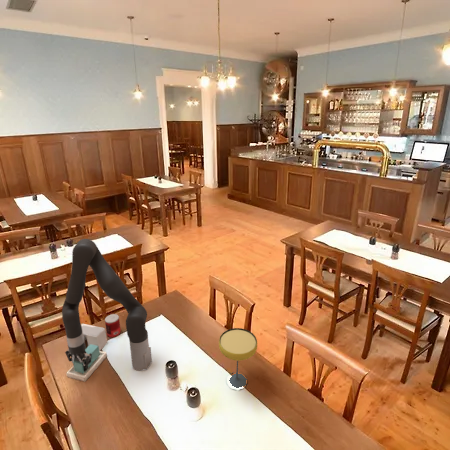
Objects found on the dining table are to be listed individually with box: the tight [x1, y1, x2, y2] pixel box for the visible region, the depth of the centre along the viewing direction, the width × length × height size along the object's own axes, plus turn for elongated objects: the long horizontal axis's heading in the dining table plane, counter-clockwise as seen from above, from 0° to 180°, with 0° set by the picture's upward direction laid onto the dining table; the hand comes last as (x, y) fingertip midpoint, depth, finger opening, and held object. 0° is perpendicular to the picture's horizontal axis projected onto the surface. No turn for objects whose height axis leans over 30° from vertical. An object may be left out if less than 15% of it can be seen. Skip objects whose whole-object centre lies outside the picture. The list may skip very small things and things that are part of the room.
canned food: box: [104, 313, 122, 338], centre depth 185 cm, size 8×8×11 cm
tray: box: [66, 350, 108, 382], centre depth 162 cm, size 11×18×3 cm, turn 165°
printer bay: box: [81, 323, 108, 351], centre depth 176 cm, size 15×8×10 cm, turn 75°
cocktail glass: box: [218, 327, 258, 388], centre depth 150 cm, size 18×18×25 cm
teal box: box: [72, 344, 100, 373], centre depth 161 cm, size 5×13×7 cm, turn 164°
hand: (81, 368), depth 157 cm, fingers closed on teal box, 5 cm apart
